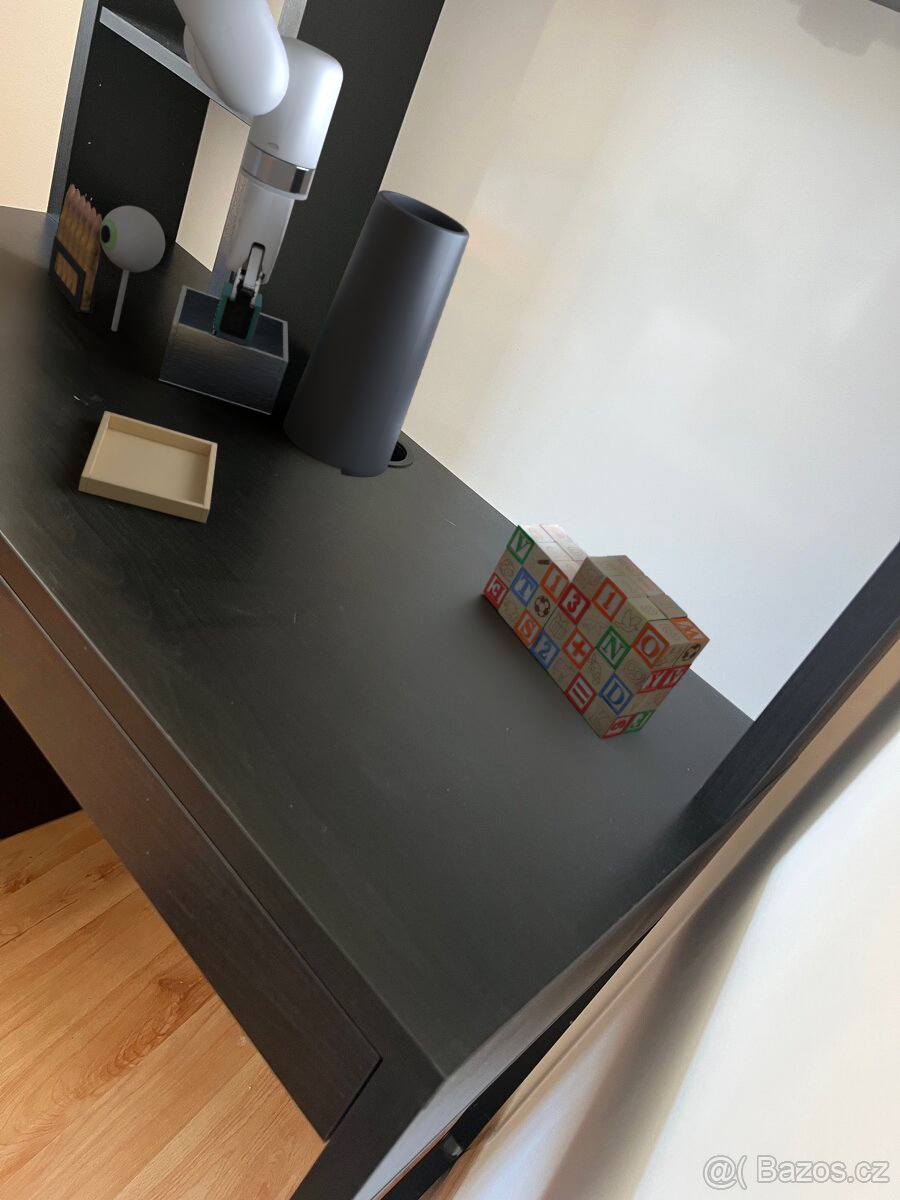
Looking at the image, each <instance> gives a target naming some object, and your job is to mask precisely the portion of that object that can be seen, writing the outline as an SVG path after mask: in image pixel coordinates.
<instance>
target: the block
mask: <svg viewBox="0 0 900 1200" xmlns="http://www.w3.org/2000/svg"><path fill="white" fill-rule="evenodd" d="M230 283H231V282H228V281H224V283H223V287H222V291H221V295H220V297H219V298H220V301H219V305H218V309H217V312H216V316H215V322H214V328H213V330H215V331H218V332H221V331H220V329H219V328H220V324H221V320H222V316H223V313H224V309H225V305H226V302H227V298H228V297H229V298H230V296H231V293H232V289H233V284H234V283H233V284H230ZM262 304H263V295H262V294H260V293H258V294H257V298H256V302H255V305H254V307H255V311H254V314H253V318H252V321H251V324H250V328H249V331H248V335H247V338H246V339H242V340H245V341H248V342H251V341H252V338H253V335H254V331H255V328H256V325H257V321H258V318H259V315H260V312H261V311H262V306H263V305H262ZM221 333H223V332H221ZM224 334H226V333H224ZM227 335H229V334H227ZM230 336H232V335H230ZM233 337H235V336H233ZM236 338H238V337H236ZM239 339H241V338H239Z"/></svg>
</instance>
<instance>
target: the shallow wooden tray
mask: <svg viewBox="0 0 900 1200" xmlns="http://www.w3.org/2000/svg"><path fill="white" fill-rule="evenodd" d="M217 450H218V443H217V442H213V441H210V440H206V439H203V438H200V437H196V436H194V435H189V434H186V433H183V432H180V431H176V430H173V429H168V428H166V427H163V426H159V425H156V424H151V423H149V422H146V421H142V420H139V419H135V418H131V417H128V416H125V415H122V414H121V415H120V414H118V413H114V412H111V411H107V410H104V412H103V415H102V418H101V421H100V424H99V426H98V429H97V432H96V434H95V436H94V439H93V443H92V445H91V448H90V451H89V453H88V457H87V458H86V461H85V465H84V467H83V470H82V472H81V475H80V480H79V483H78V491H80V492H83V493H87V494H91V495H95V496H99V497H101V498H102V497H103V498H107V499H110V500H114V501H119V502H122V503H126V504H130V505H134V506H138V507H141V508H146V509H148V510H153V511H157V512H160V513H165V514H168V515H171V516H172V515H173V516H176V517H181V518H184V519H188V520H191V521H196V522H199V523H203V524H206V523H207V519H208V516H209V514H210V509H211V502H212V501H211V500H212V492H213V484H214V476H215V467H216V459H217V452H218V451H217Z"/></svg>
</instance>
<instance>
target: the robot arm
mask: <svg viewBox="0 0 900 1200" xmlns="http://www.w3.org/2000/svg"><path fill="white" fill-rule="evenodd" d="M173 2H174V4H175V5H176V7H177V10H178V11H179V13H180V15H181V17H182V19H183V21H184V23H185V26H184V31H183V48H184V53H185V56H186V59H187V61H188V64H189V66H190V68H191V69H192V70H193V72H194V73H195V75H196V76H197V78H198V79H200V81H201V82H202V83H203V84H204V85H205V86H206V87H207V88H208V89H209V90H210V91H211V92H212V93H214V94H215V95H216V96H217V97H218V98H219V99H220V100H221V101H222V102H223V104H224V105H226V106H227V107H228V108H229V109H231V110H232V111H234V112H236V113H238V114H241V115H244V116H251V117H253V118H252V122H251V126H250V129H249V134H248V137H247V141H246V145H245V149H244V152H243V157H242V161H241V165H240V167H239V173H240V174H241V175H242V176H243V177H244V178H245V179H247V181H246V183H245V186H244V189H243V193H242V196H241V198H240V202H239V206H238V209H237V214H236V217H235V221H234V225H233V228H232V232H231V236H230V240H229V243H228V247H227V251H226V256H225V262H224V269H225V271H226V273H229V274H231V272H234V273H233V276H232V280H231V282H229V283H230V284H233V289H232V293H231V296H230V298H229V297H228V298H227V302H226V305H225V309H224V313H223V316H222V320H221V324H220V328H219V329H220V331H221V332H223V333H226V334H229V335H232V336H235V337H238V338H241V339H246V338H247V335H248V331H249V328H250V324H251V321H252V318H253V314H254V311H255V307H254V305H255V302H256V298H257V294H259V291H260V286H261V285H263V286H264V285H266V284H268V283H269V280H270V278H271V275H272V272H273V269H274V267H275V265H276V261H277V258H278V255H279V252H280V250H281V246H282V243H283V240H284V237H285V234H286V231H287V227H288V224H289V220H290V218H291V214H292V210H293V207H294V204H295V200H297V201H306V200H307V199H308V196H309V192H310V189H311V185H312V183H313V179H314V176H315V173H316V169H317V165H318V163H319V159H320V156H321V153H322V149H323V145H324V143H325V139H326V136H327V133H328V129H329V126H330V123H331V120H332V117H333V114H334V110H335V107H336V104H337V101H338V98H339V94H340V91H341V89H342V88H341V87H342V83H343V80H344V71H343V68H342V65H341V64H340V62H339V61H338V60H337V59H336V58H335V57H334V56H332V55H330V54H329V53H327V52H325V51H324V50H322V49H320V48H318V47H315V46H314V45H312V44H309V43H308V42H305V41H302V40H301V39H298V38H295V37H293V36H292V37H291V36H284V35H282V34H281V33H280V32H279V29H278V27H277V24H276V22H275V19H274V17H273V14H272V12H271V10H270V7H269V3H268V2H267V0H173Z"/></svg>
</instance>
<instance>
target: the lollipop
mask: <svg viewBox="0 0 900 1200" xmlns="http://www.w3.org/2000/svg"><path fill="white" fill-rule="evenodd" d="M165 237H166V236H165V233H164V230H163V228H162V226H161V224H160V223H159V221H158V220H157V218H155V216H153V214H152V213H150V212H149V211H147V210H145V209H144V208H141V207H139V206H135V205H122V206H119V207H116V208H113V209H112V210H110V211H109V212H108V213H107V214H106V215H105V217H104V218H103V219H102V224H101V229H100V240H101V243H100V245H101V247H102V249H103V252H104V254H105V255H106V256H107V258H108V259H109V260H110V261H111V262H112V264H114V265H115V266H117V267H118V268H120V269H122V274H121V280H120V284H119V289H118V294H117V299H116V304H115V309H114V312H113V318H112V323H111V327H110V330H111V331H113V332H117V331H118V328H119V323H120V317H121V313H122V309H123V303H124V299H125V294H126V289H127V284H128V280H129V275H130V272H131V273H143V272H146V271H149V270H151V269H153V268H154V267H156V266H157V265H158V264H159V263H160V262H161V260H162V259H163V256H164V253H165V249H166V238H165Z"/></svg>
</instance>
